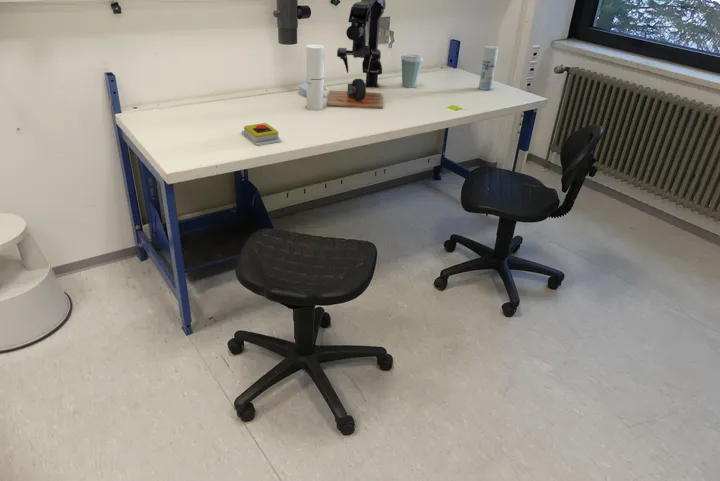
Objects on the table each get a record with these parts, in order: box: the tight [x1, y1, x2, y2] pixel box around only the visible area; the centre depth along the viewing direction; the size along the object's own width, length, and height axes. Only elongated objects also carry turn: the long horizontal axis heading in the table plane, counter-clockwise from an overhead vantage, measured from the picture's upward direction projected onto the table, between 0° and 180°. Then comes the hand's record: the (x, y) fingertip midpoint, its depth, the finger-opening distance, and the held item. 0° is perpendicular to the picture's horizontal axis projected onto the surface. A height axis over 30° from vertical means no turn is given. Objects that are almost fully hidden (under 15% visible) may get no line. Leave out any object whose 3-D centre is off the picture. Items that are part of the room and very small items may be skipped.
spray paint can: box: [478, 45, 499, 91], centre depth 263 cm, size 6×6×20 cm
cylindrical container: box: [305, 43, 325, 111], centre depth 223 cm, size 7×7×25 cm
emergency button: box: [241, 122, 282, 147], centre depth 194 cm, size 9×4×15 cm
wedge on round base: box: [299, 80, 327, 97], centre depth 244 cm, size 9×7×13 cm
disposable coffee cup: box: [400, 53, 424, 88], centre depth 262 cm, size 11×11×15 cm
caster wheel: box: [346, 78, 367, 101], centre depth 238 cm, size 6×10×15 cm
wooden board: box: [326, 90, 384, 110], centre depth 240 cm, size 22×24×1 cm
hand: (358, 73), depth 236 cm, fingers open, 9 cm apart
